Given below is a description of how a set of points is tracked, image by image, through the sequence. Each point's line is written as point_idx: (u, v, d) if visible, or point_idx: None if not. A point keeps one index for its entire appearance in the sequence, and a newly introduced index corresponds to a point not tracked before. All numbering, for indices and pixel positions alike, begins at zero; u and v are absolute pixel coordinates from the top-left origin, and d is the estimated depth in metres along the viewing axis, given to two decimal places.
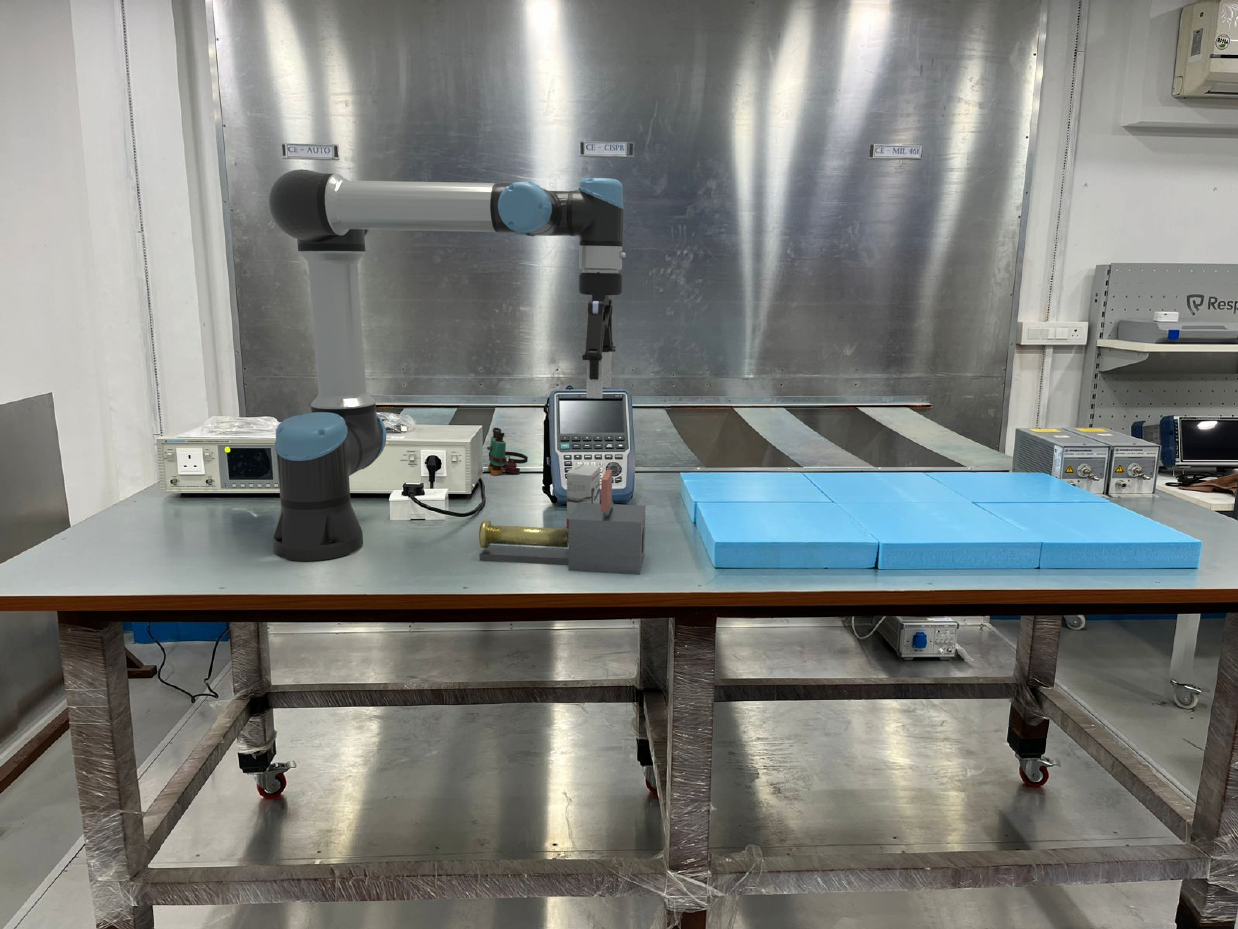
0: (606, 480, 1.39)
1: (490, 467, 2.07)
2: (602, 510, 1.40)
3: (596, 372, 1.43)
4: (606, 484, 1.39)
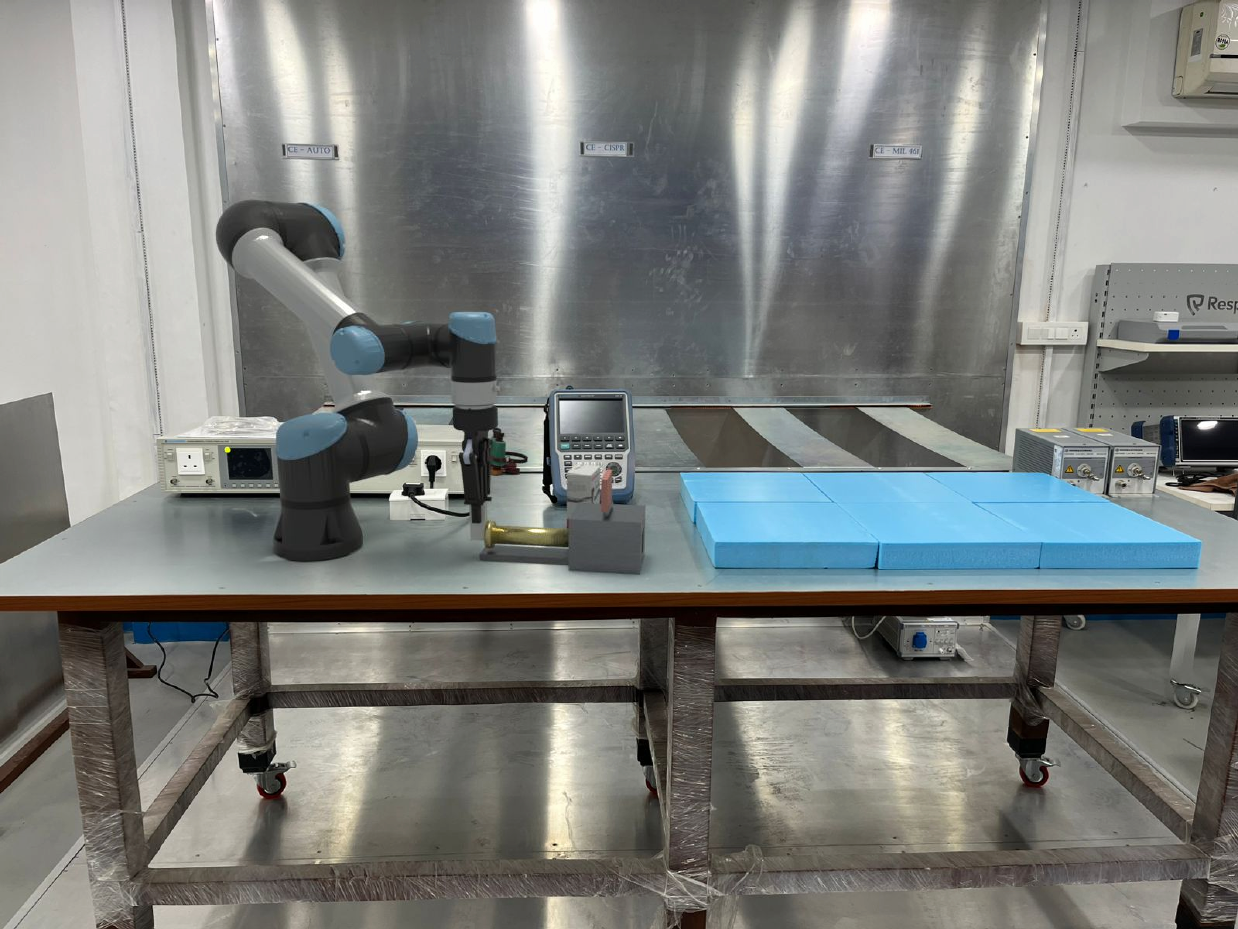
0: (606, 480, 1.39)
1: None
2: (602, 510, 1.40)
3: (478, 517, 1.44)
4: (606, 484, 1.39)
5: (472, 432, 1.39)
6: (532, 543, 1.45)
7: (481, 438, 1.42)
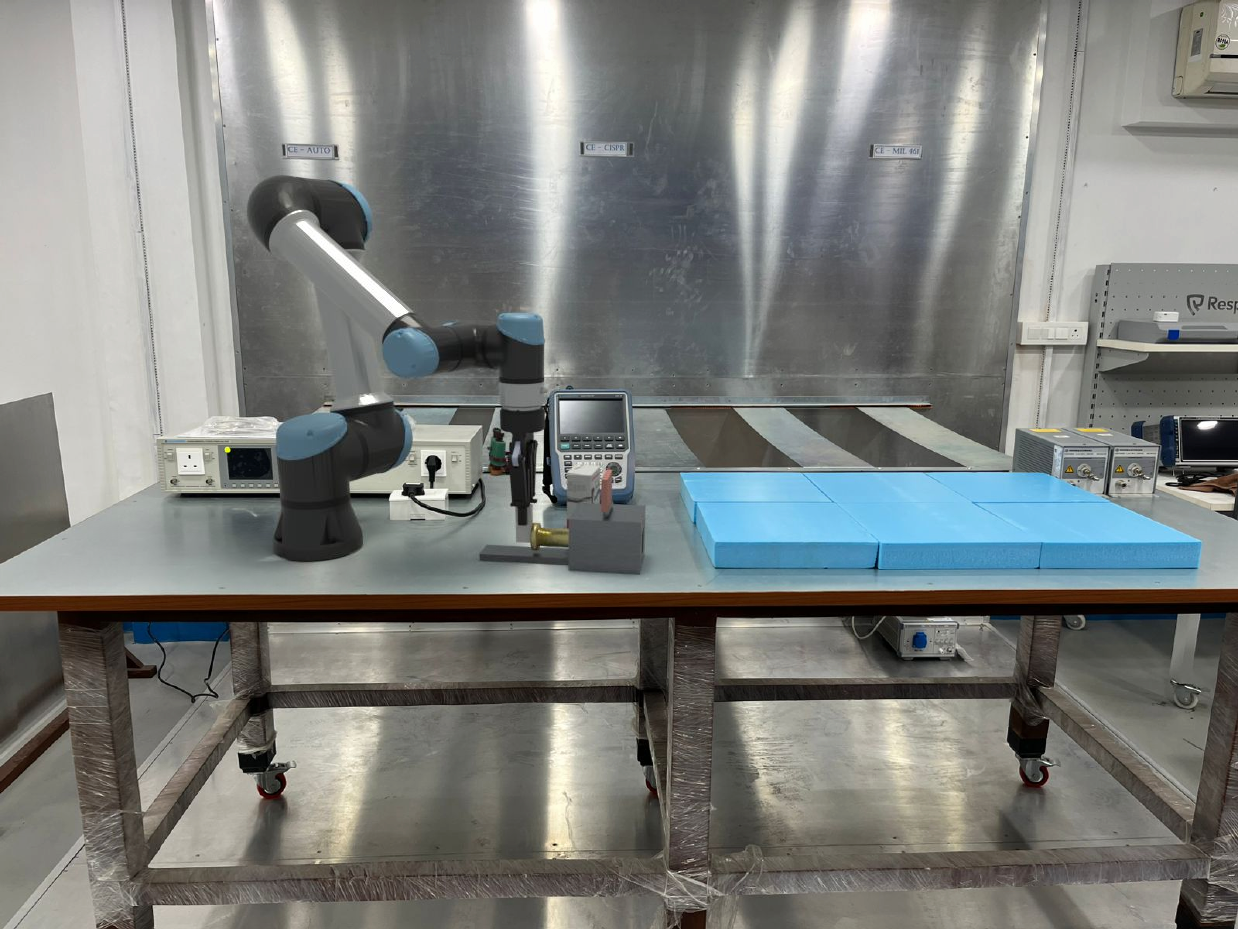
0: (606, 480, 1.39)
1: (490, 467, 2.07)
2: (602, 510, 1.40)
3: (524, 519, 1.43)
4: (606, 484, 1.39)
5: (520, 434, 1.38)
6: None
7: (528, 440, 1.41)
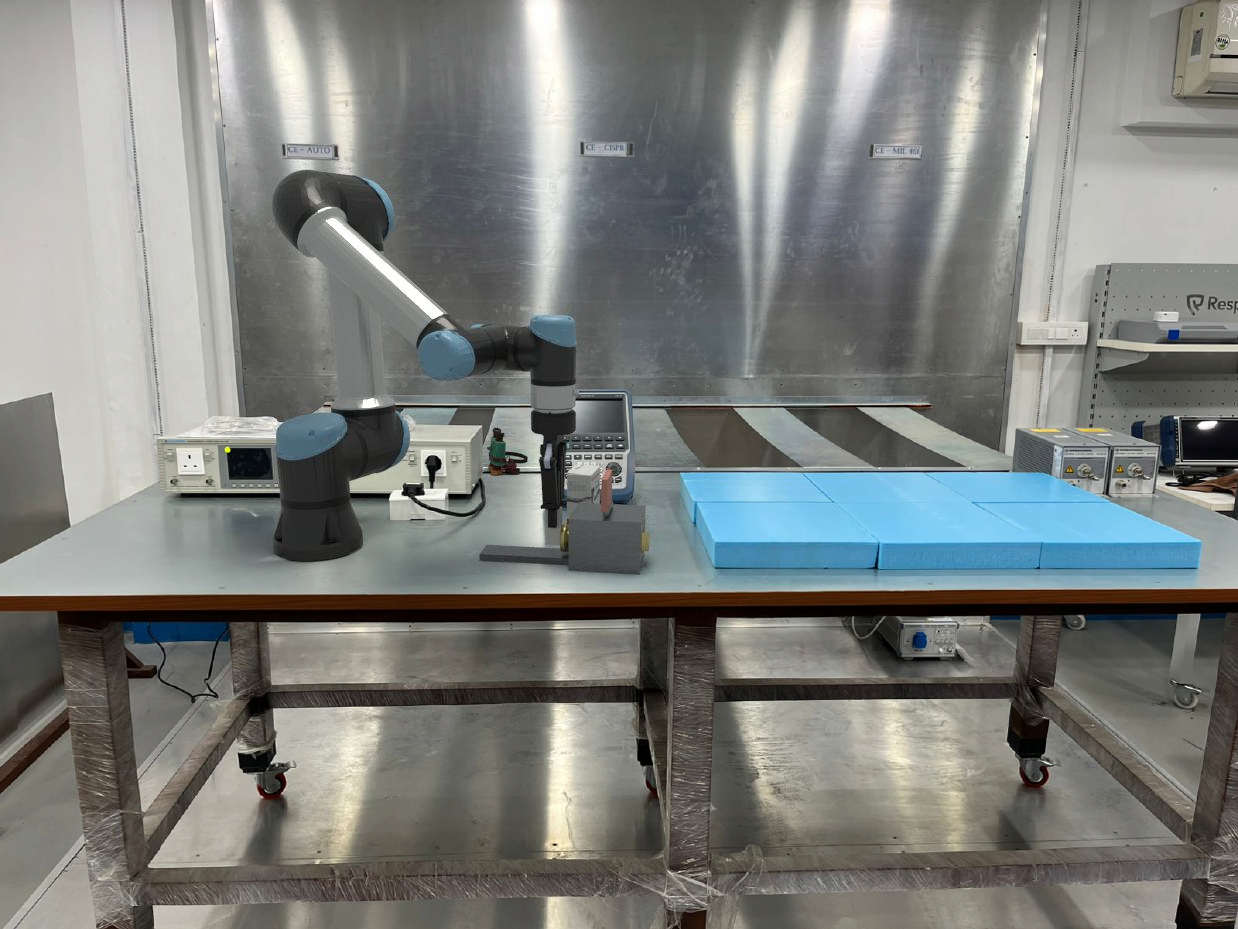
0: (606, 480, 1.39)
1: (490, 467, 2.07)
2: (602, 510, 1.40)
3: (554, 521, 1.43)
4: (606, 484, 1.39)
5: (552, 436, 1.38)
6: None
7: (559, 442, 1.41)
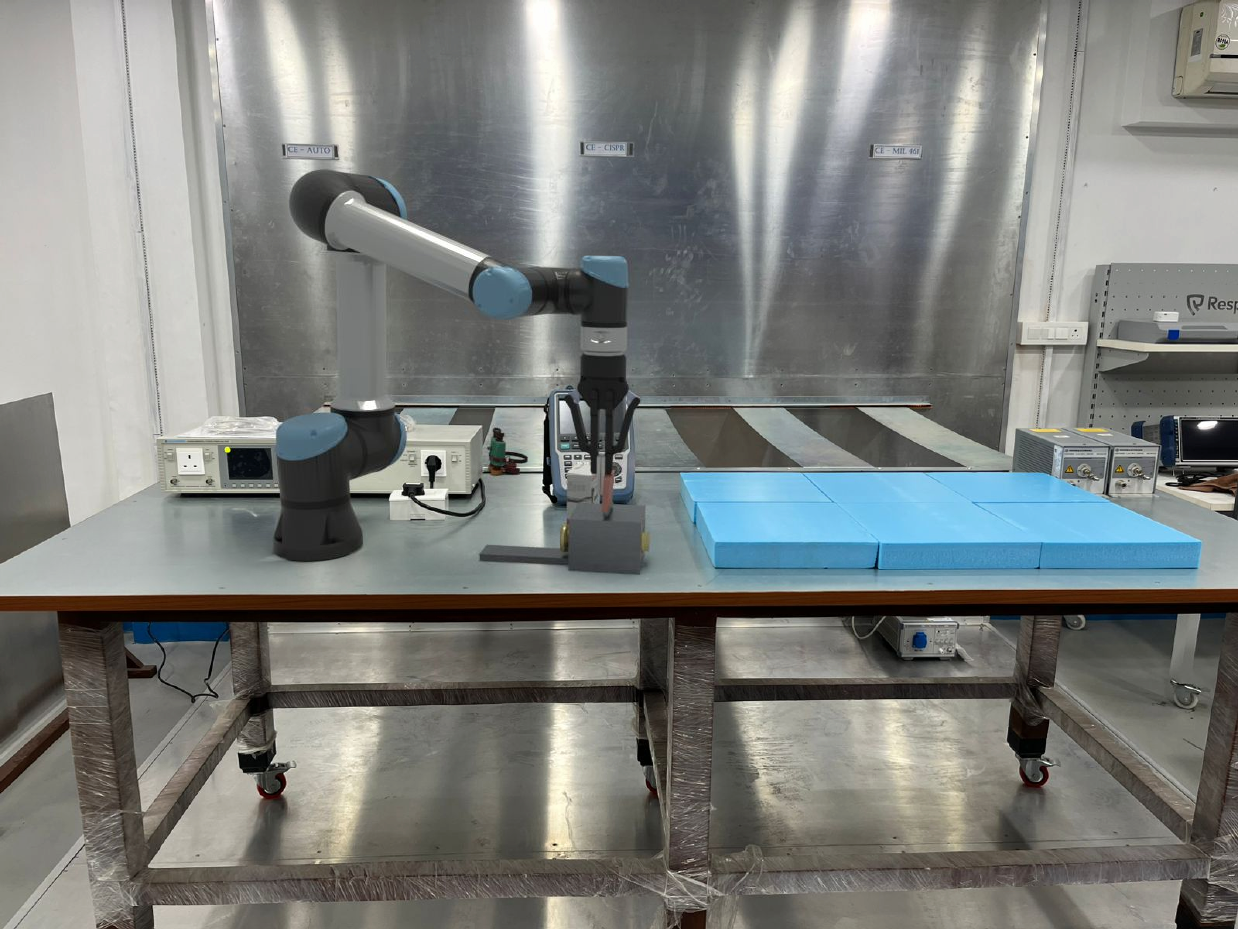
0: (609, 480, 1.39)
1: (490, 467, 2.07)
2: (602, 510, 1.40)
3: None
4: (608, 484, 1.39)
5: (580, 376, 1.38)
6: None
7: (598, 387, 1.38)
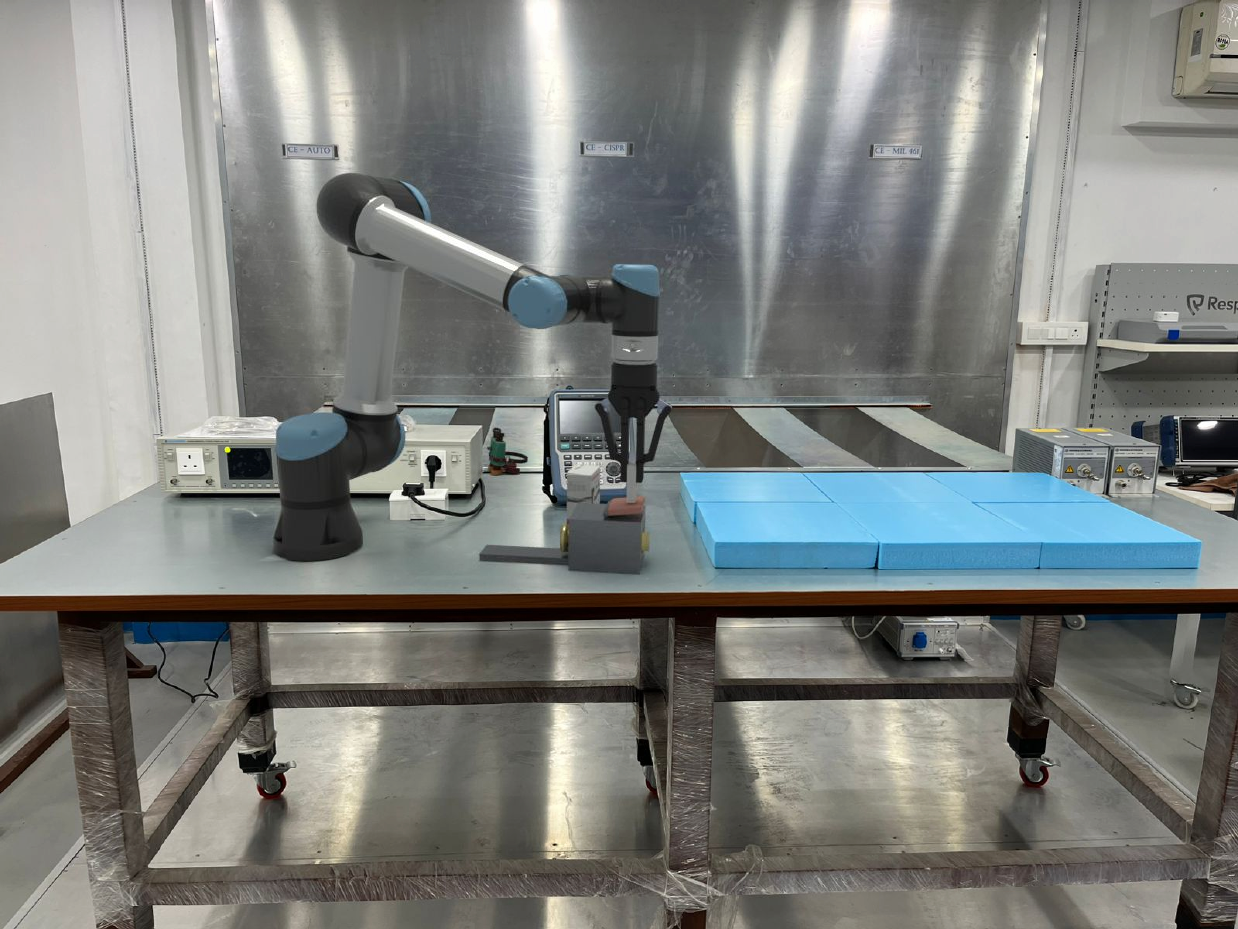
0: (640, 512, 1.39)
1: (490, 467, 2.07)
2: (609, 511, 1.40)
3: None
4: (636, 512, 1.39)
5: (611, 385, 1.38)
6: None
7: (629, 396, 1.37)
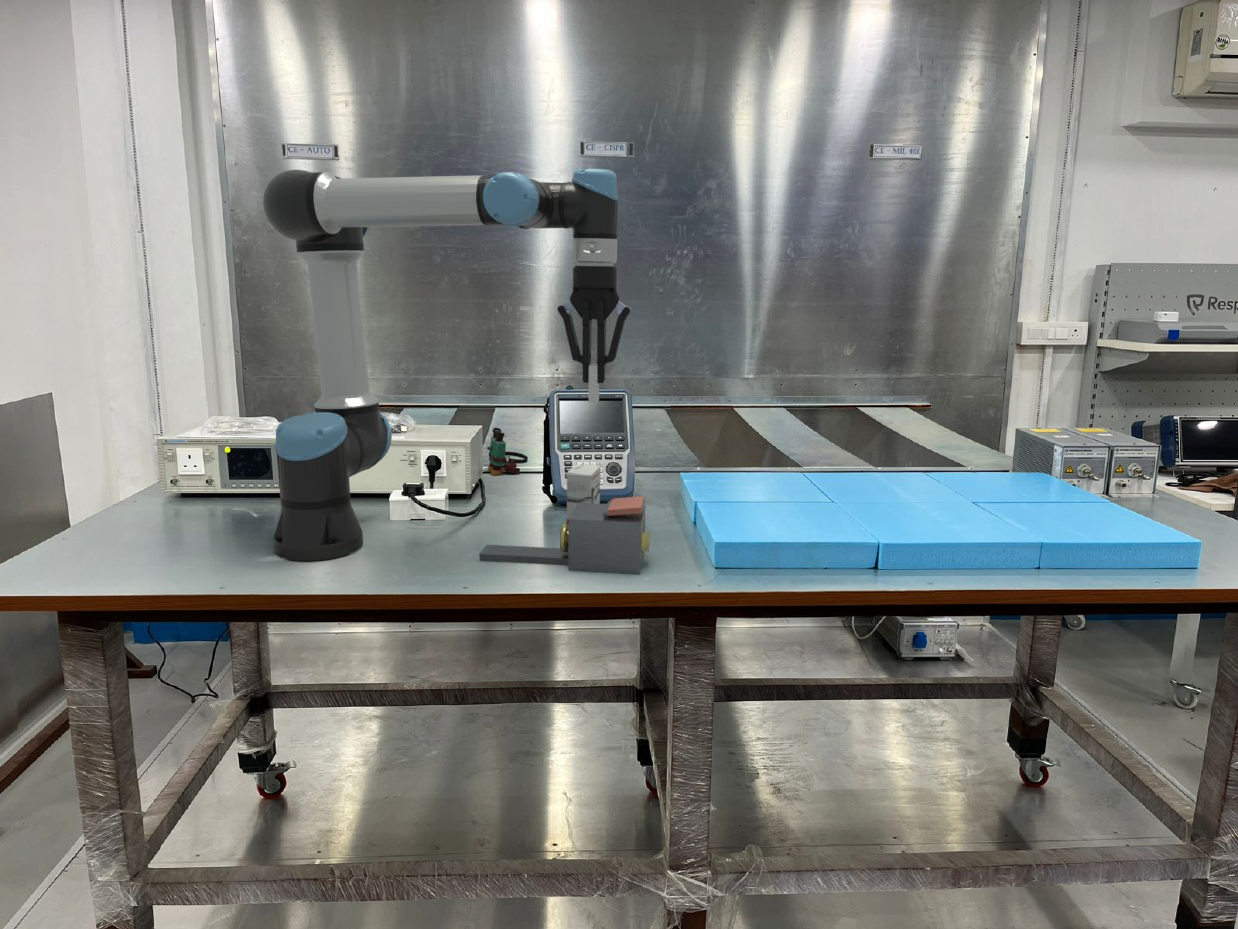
0: (640, 512, 1.39)
1: (490, 467, 2.07)
2: (609, 511, 1.40)
3: None
4: (636, 512, 1.39)
5: None
6: None
7: (590, 298, 1.44)
